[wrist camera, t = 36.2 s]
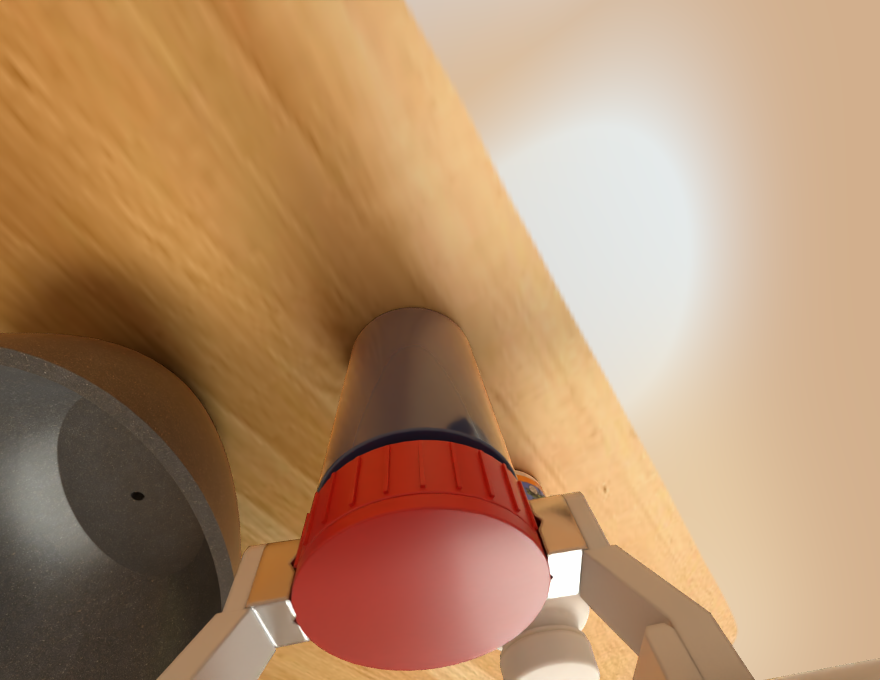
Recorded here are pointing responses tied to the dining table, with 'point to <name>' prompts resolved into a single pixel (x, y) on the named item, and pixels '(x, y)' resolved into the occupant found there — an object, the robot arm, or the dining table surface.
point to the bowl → (106, 512)
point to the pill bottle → (550, 634)
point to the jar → (412, 391)
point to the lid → (419, 558)
